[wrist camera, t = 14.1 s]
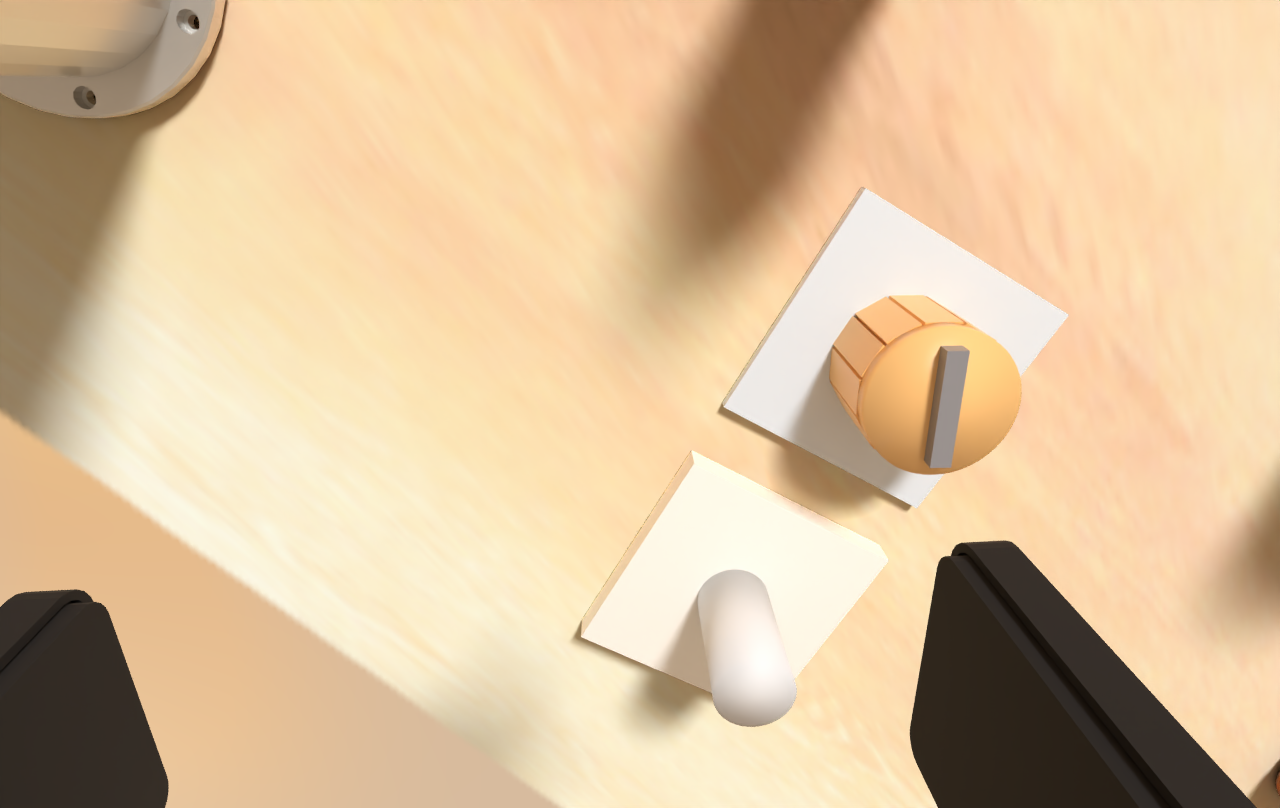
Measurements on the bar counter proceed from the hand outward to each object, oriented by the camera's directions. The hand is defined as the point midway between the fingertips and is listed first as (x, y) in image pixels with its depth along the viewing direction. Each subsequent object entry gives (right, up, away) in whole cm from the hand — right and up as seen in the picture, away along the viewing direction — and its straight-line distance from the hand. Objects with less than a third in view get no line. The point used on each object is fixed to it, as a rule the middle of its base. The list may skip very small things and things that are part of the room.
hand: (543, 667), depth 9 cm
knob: (+14, +5, +29) cm, 32 cm away
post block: (+6, -7, +34) cm, 35 cm away
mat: (+13, +5, +29) cm, 32 cm away
